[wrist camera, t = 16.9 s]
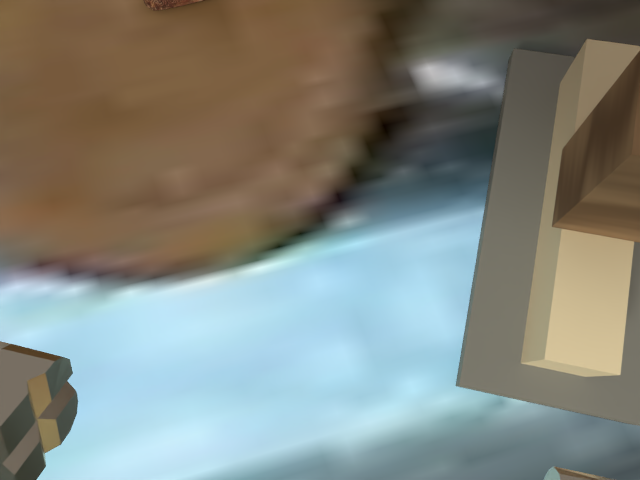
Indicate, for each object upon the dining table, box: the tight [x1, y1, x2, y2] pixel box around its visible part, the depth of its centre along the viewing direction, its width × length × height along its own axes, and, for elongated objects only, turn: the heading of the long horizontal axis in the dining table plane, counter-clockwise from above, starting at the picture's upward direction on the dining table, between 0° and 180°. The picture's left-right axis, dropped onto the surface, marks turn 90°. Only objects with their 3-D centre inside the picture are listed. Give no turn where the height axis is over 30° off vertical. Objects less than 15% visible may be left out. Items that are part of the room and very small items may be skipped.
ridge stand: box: [456, 39, 640, 425], centre depth 34 cm, size 22×10×6 cm, turn 168°
